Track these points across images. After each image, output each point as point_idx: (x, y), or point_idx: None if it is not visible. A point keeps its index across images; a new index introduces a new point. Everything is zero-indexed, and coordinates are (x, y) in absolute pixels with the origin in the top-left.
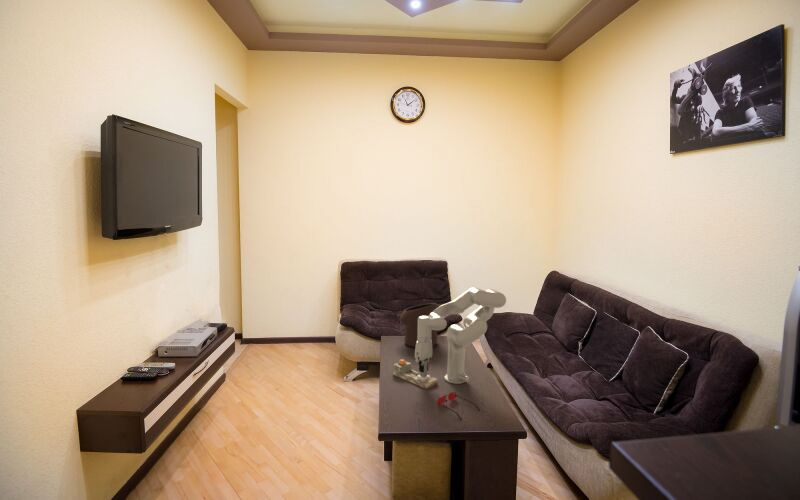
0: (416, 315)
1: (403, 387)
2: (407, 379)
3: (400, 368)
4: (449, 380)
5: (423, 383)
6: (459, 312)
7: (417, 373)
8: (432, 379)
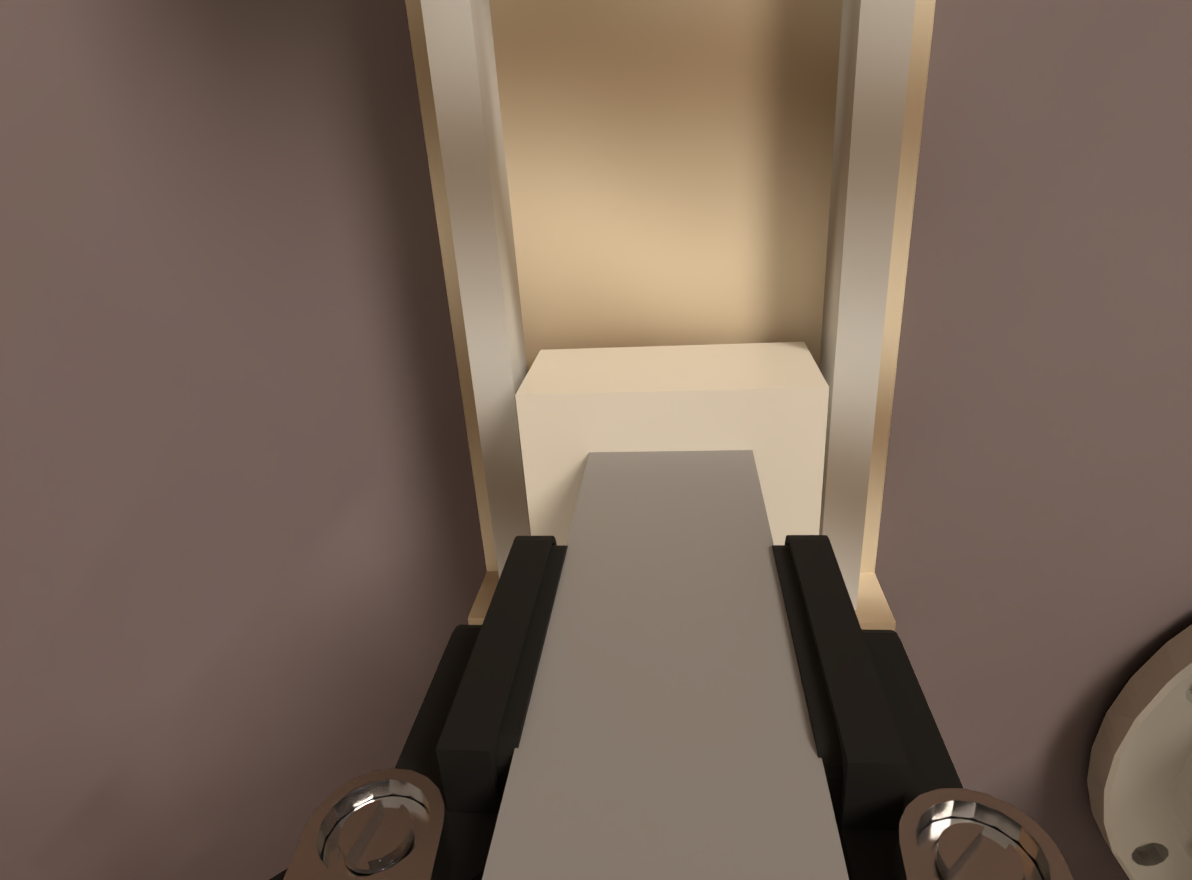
0: None
1: (142, 297)
2: (418, 49)
3: None
4: (1123, 787)
5: None
6: None
7: (851, 48)
8: None
